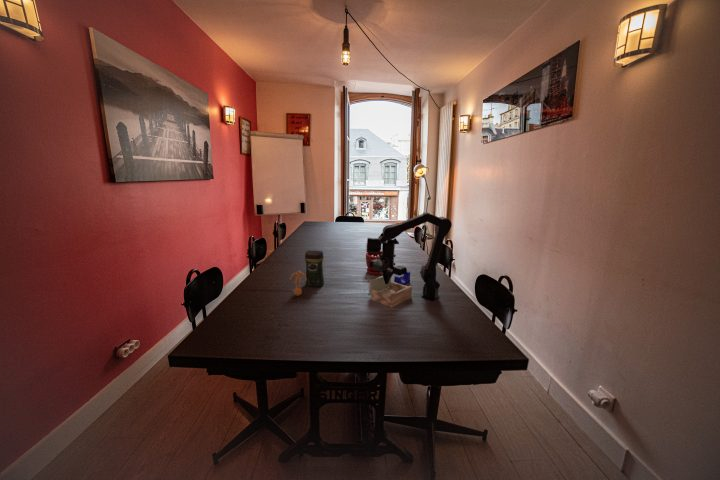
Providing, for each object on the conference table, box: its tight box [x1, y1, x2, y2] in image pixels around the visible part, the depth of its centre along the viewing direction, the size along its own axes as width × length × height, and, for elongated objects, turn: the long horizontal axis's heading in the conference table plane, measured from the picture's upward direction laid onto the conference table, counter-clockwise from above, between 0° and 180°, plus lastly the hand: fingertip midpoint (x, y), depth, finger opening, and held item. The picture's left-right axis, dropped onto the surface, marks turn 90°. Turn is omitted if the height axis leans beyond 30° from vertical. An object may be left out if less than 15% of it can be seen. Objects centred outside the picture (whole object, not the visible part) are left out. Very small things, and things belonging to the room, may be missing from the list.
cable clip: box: [393, 270, 411, 286], centre depth 160 cm, size 12×4×6 cm, turn 142°
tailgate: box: [367, 275, 392, 297], centre depth 145 cm, size 2×16×8 cm, turn 137°
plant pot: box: [365, 250, 382, 275], centre depth 177 cm, size 13×13×12 cm
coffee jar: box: [304, 249, 325, 288], centre depth 155 cm, size 10×8×19 cm
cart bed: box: [370, 280, 413, 308], centre depth 141 cm, size 12×16×6 cm
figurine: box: [289, 270, 307, 297], centre depth 142 cm, size 8×6×12 cm
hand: (386, 283), depth 142 cm, fingers closed
